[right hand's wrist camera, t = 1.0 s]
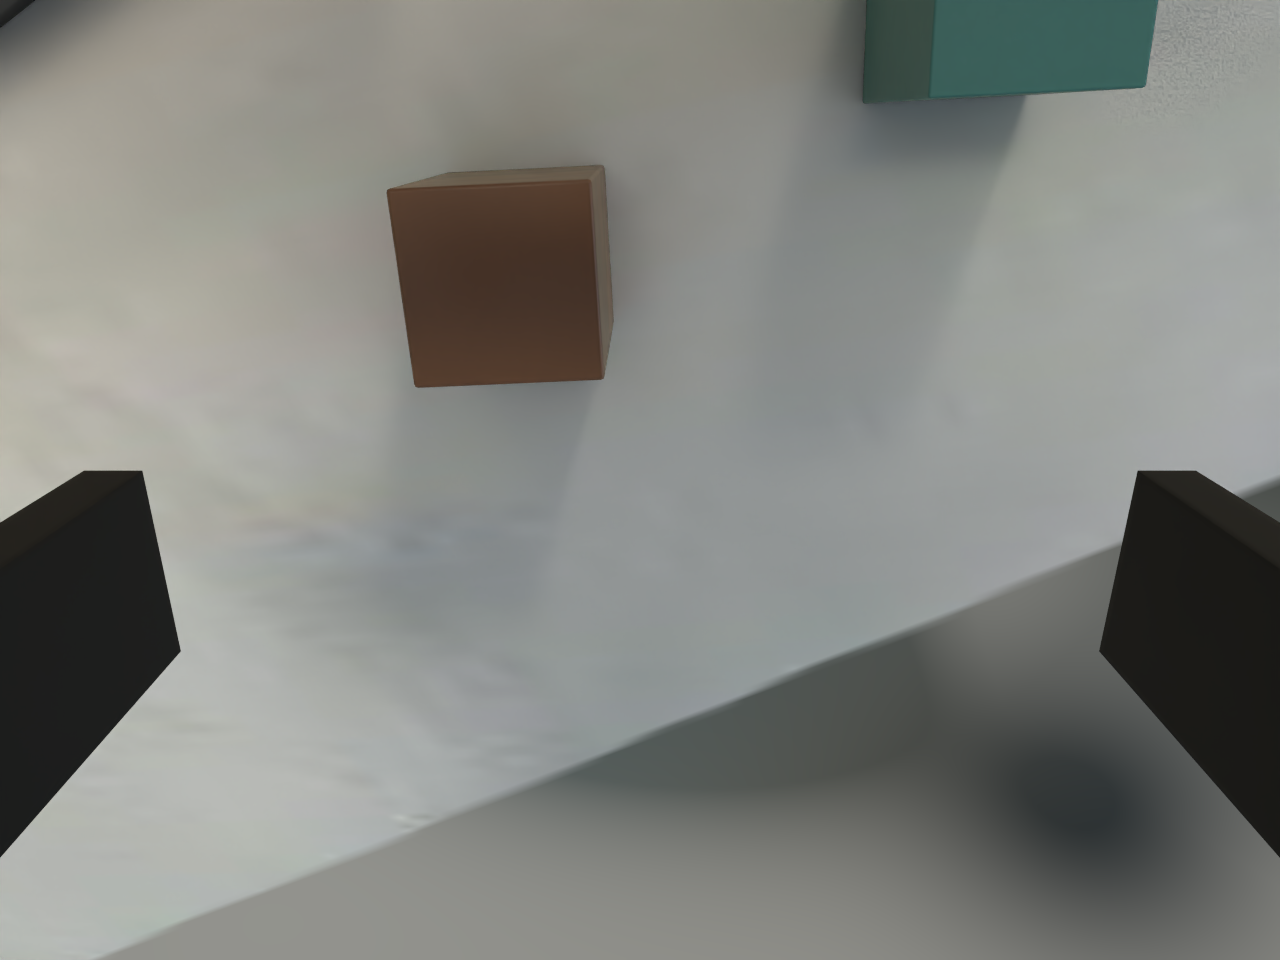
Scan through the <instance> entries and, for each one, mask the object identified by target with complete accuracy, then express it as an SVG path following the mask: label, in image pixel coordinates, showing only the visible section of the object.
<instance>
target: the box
mask: <svg viewBox="0 0 1280 960" xmlns="http://www.w3.org/2000/svg"><path fill="white" fill-rule="evenodd" d="M33 1H35V0H0V27H2V26H3V25H4V24H5V23H7V22H8V21H9V20H11V19H12V18H13V17H14V16H16V15H17V14H18V13H19V12H21V11H22V10H23V9H24V8H26V7H27V6H28V5H30V4H31V3H32V2H33Z"/></svg>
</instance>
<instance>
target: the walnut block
mask: <svg viewBox="0 0 1280 960" xmlns="http://www.w3.org/2000/svg"><path fill="white" fill-rule="evenodd" d="M387 199H388V206H389V213H390V220H391V226H392V233H393V240H394V247H395V254H396V261H397V268H398V275H399V282H400V289H401V296H402V303H403V310H404V317H405V323H406V330H407V337H408V344H409V351H410V358H411V365H412V372H413V379H414V385H415V387H418V388H424V387H447V386H470V385H492V384H515V383H538V382H561V381H583V380H601V379H604V376H605V370H606V364H607V358H608V352H609V346H610V340H611V334H612V328H613V322H614V320H613V303H612V285H611V268H610V251H609V234H608V217H607V200H606V183H605V168H604V166H602V165H594V166H574V167H554V168H533V169H513V170H493V171H473V172H453V173H445V174H441V175H438V176H434V177H430V178H427V179H423V180H419V181H416V182H412V183H408V184H405V185H401V186H397V187H394V188H390V189H388V190H387Z"/></svg>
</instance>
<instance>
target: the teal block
mask: <svg viewBox="0 0 1280 960" xmlns="http://www.w3.org/2000/svg"><path fill="white" fill-rule="evenodd" d="M1157 5H1158V0H867V9H866V34H865V58H864V83H863V103H880V102H899V101H919V100H938V99H958V98H977V97H997V96H1017V95H1035V94H1051V93H1067V92H1084V91H1100V90H1117V89H1133V88H1143V87H1145V85H1146V80H1147V73H1148V66H1149V59H1150V52H1151V46H1152V39H1153V32H1154V25H1155V18H1156V11H1157Z"/></svg>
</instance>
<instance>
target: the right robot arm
mask: <svg viewBox="0 0 1280 960" xmlns="http://www.w3.org/2000/svg"><path fill="white" fill-rule="evenodd" d="M180 651H181V650H180V645H179V641H178V636H177V631H176V627H175V622H174V617H173V613H172V608H171V603H170V599H169V594H168V589H167V585H166V580H165V575H164V570H163V566H162V561H161V556H160V552H159V547H158V542H157V538H156V533H155V528H154V524H153V519H152V514H151V510H150V505H149V500H148V495H147V491H146V486H145V481H144V477H143V472H142V471H83V472H81V473H80V474H78V475H76V476H75V477H73V478H72V479H70V480H68V481H67V482H65V483H64V484H62V485H60V486H59V487H57V488H55V489H54V490H52V491H51V492H49V493H47V494H46V495H44V496H43V497H41V498H39V499H38V500H36V501H34V502H33V503H31V504H30V505H28V506H26V507H25V508H23V509H22V510H20V511H18V512H17V513H15V514H13V515H12V516H10V517H9V518H7V519H5V520H4V521H2V522H1V523H0V857H1V856H2V855H3V854H4V853H5V851H6V850H7V849H8V848H9V847H10V846H11V845H12V843H13V842H14V841H15V840H16V839H17V838H18V837H19V835H20V834H21V833H22V832H23V831H24V830H25V829H26V827H27V826H28V825H29V824H30V823H31V822H32V821H33V819H34V818H35V817H36V816H37V815H38V814H39V813H40V811H41V810H42V809H43V808H44V807H45V806H46V805H47V803H48V802H49V801H50V800H51V799H52V798H53V797H54V795H55V794H56V793H57V792H58V791H59V790H60V789H61V787H62V786H63V785H64V784H65V783H66V782H67V781H68V779H69V778H70V777H71V776H72V775H73V774H74V773H75V771H76V770H77V769H78V768H79V767H80V766H81V765H82V763H83V762H84V761H85V760H86V759H87V758H88V757H89V755H90V754H91V753H92V752H93V751H94V750H95V749H96V747H97V746H98V745H99V744H100V743H101V742H102V741H103V739H104V738H105V737H106V736H107V735H108V734H109V733H110V731H111V730H112V729H113V728H114V727H115V726H116V725H117V723H118V722H119V721H120V720H121V719H122V718H123V717H124V715H125V714H126V713H127V712H128V711H129V710H130V709H131V707H132V706H133V705H134V704H135V703H136V702H137V701H138V699H139V698H140V697H141V696H142V695H143V694H144V693H145V691H146V690H147V689H148V688H149V687H150V686H151V685H152V683H153V682H154V681H155V680H156V679H157V678H158V677H159V675H160V674H161V673H162V672H163V671H164V670H165V669H166V667H167V666H168V665H169V664H170V663H171V662H172V661H173V659H174V658H175V657H176V656H177V655H178V654H179V653H180ZM1099 651H1100V653H1101V654H1102V655H1103V656H1104V657H1105V658H1106V659H1107V661H1108V662H1109V663H1110V664H1111V665H1112V666H1113V667H1114V669H1115V670H1116V671H1117V672H1118V673H1119V674H1120V675H1121V677H1122V678H1123V679H1124V680H1125V681H1126V682H1127V683H1128V685H1129V686H1130V687H1131V688H1132V689H1133V690H1134V691H1135V693H1136V694H1137V695H1138V696H1139V697H1140V698H1141V699H1142V701H1143V702H1144V703H1145V704H1146V705H1147V706H1148V707H1149V709H1150V710H1151V711H1152V712H1153V713H1154V714H1155V715H1156V717H1157V718H1158V719H1159V720H1160V721H1161V722H1162V723H1163V725H1164V726H1165V727H1166V728H1167V729H1168V730H1169V731H1170V733H1171V734H1172V735H1173V736H1174V737H1175V738H1176V739H1177V741H1178V742H1179V743H1180V744H1181V745H1182V746H1183V747H1184V749H1185V750H1186V751H1187V752H1188V753H1189V754H1190V755H1191V757H1192V758H1193V759H1194V760H1195V761H1196V762H1197V763H1198V765H1199V766H1200V767H1201V768H1202V769H1203V770H1204V771H1205V773H1206V774H1207V775H1208V776H1209V777H1210V778H1211V779H1212V781H1213V782H1214V783H1215V784H1216V785H1217V786H1218V787H1219V789H1220V790H1221V791H1222V792H1223V793H1224V794H1225V795H1226V797H1227V798H1228V799H1229V800H1230V801H1231V802H1232V803H1233V805H1234V806H1235V807H1236V808H1237V809H1238V810H1239V811H1240V813H1241V814H1242V815H1243V816H1244V817H1245V818H1246V819H1247V821H1248V822H1249V823H1250V824H1251V825H1252V826H1253V827H1254V829H1255V830H1256V831H1257V832H1258V833H1259V834H1260V835H1261V837H1262V838H1263V839H1264V840H1265V841H1266V842H1267V843H1268V845H1269V846H1270V847H1271V848H1272V849H1273V850H1274V851H1275V853H1276V854H1277V855H1278V856H1279V857H1280V523H1279V522H1278V521H1276V520H1275V519H1273V518H1271V517H1270V516H1268V515H1266V514H1265V513H1263V512H1262V511H1260V510H1258V509H1257V508H1255V507H1254V506H1252V505H1250V504H1249V503H1247V502H1245V501H1244V500H1242V499H1241V498H1239V497H1237V496H1236V495H1234V494H1233V493H1231V492H1229V491H1228V490H1226V489H1225V488H1223V487H1221V486H1220V485H1218V484H1216V483H1215V482H1213V481H1212V480H1210V479H1208V478H1207V477H1205V476H1204V475H1202V474H1200V473H1199V472H1197V471H1138V472H1137V477H1136V481H1135V486H1134V491H1133V495H1132V500H1131V505H1130V509H1129V514H1128V519H1127V524H1126V528H1125V533H1124V538H1123V542H1122V547H1121V552H1120V556H1119V561H1118V566H1117V570H1116V575H1115V580H1114V585H1113V589H1112V594H1111V599H1110V603H1109V608H1108V613H1107V617H1106V622H1105V627H1104V631H1103V636H1102V641H1101V646H1100V650H1099Z"/></svg>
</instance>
